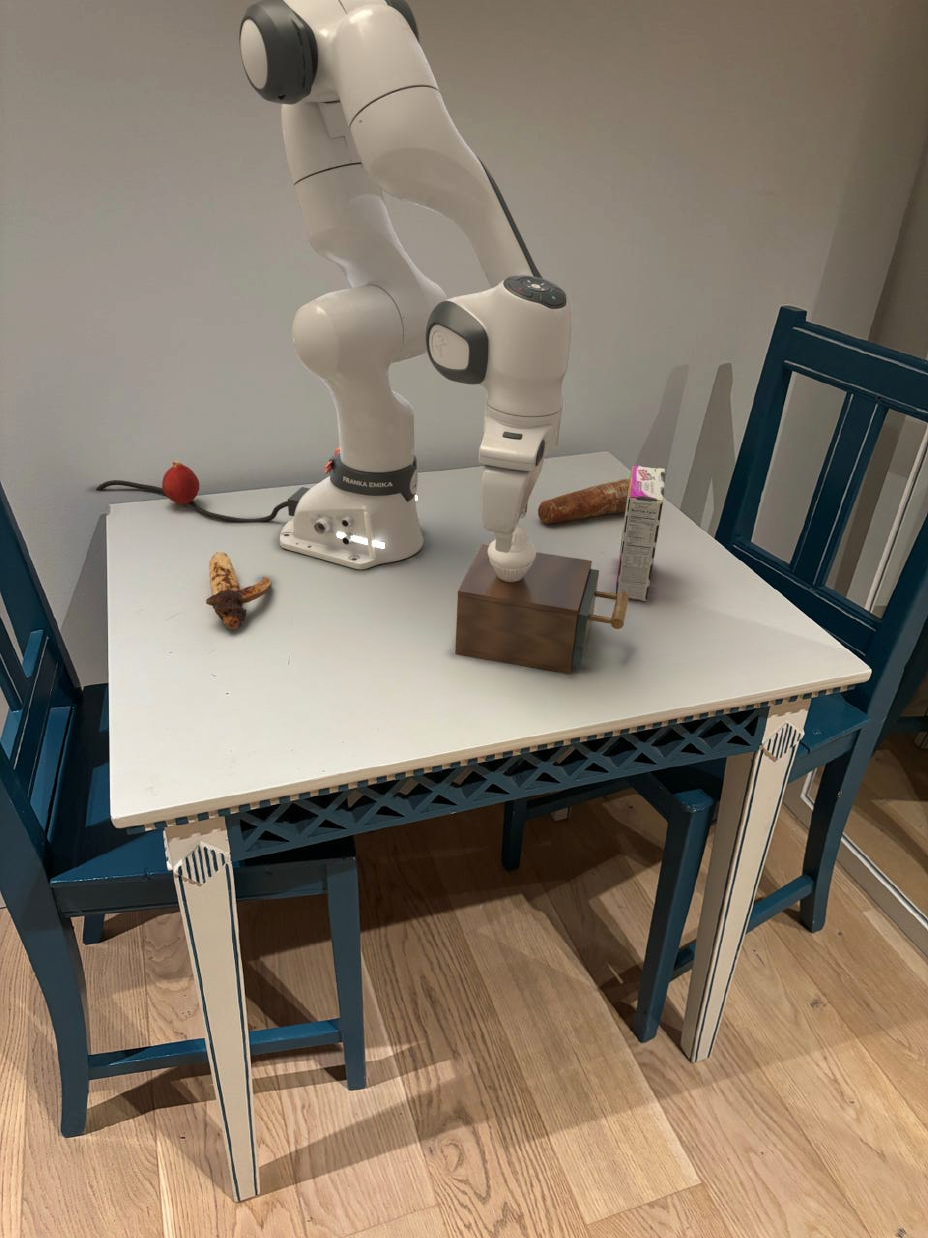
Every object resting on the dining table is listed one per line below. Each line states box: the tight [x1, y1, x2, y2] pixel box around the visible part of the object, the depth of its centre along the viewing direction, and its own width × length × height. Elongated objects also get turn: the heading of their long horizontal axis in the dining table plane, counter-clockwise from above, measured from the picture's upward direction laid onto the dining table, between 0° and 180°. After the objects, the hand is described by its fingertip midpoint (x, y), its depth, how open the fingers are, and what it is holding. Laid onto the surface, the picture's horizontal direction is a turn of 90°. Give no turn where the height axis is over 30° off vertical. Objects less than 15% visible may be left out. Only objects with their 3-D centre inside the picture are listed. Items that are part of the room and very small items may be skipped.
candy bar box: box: [615, 465, 666, 602], centre depth 129 cm, size 11×5×16 cm, turn 168°
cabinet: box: [454, 543, 593, 675], centre depth 117 cm, size 15×13×10 cm
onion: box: [161, 460, 200, 507], centre depth 147 cm, size 6×6×8 cm
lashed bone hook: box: [205, 551, 272, 630], centre depth 124 cm, size 9×5×18 cm
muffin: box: [488, 526, 537, 582], centre depth 112 cm, size 6×6×7 cm
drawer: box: [572, 568, 630, 668], centre depth 117 cm, size 18×12×8 cm, turn 76°
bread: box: [537, 477, 631, 525], centre depth 151 cm, size 6×19×6 cm, turn 113°
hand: (511, 531), depth 111 cm, fingers open, 8 cm apart
